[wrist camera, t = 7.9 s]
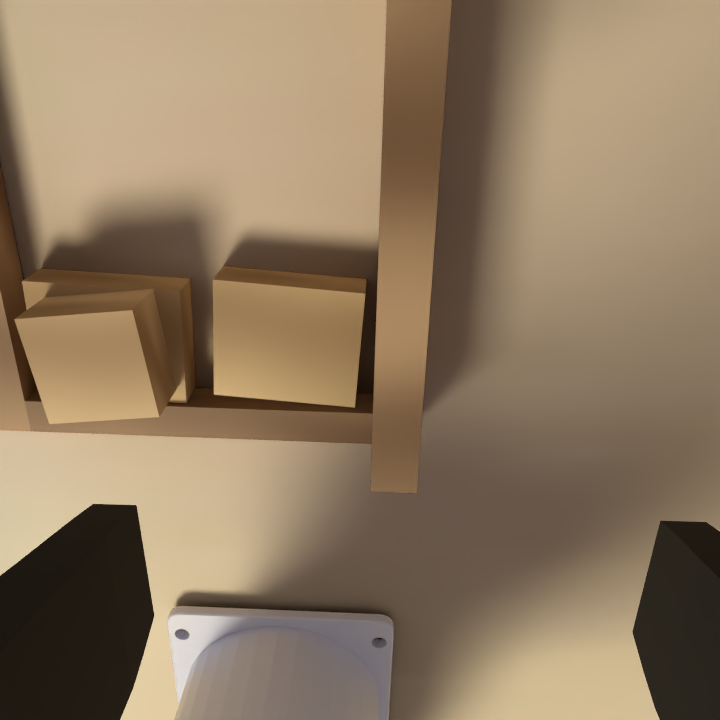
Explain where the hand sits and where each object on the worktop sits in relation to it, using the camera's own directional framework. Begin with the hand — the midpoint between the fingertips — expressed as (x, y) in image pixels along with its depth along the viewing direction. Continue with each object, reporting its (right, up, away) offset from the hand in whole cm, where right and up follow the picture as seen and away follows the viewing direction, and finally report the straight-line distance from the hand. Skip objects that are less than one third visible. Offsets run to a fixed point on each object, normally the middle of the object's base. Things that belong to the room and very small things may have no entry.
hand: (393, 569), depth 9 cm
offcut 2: (-7, +3, +9) cm, 12 cm away
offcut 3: (-2, +4, +10) cm, 11 cm away
